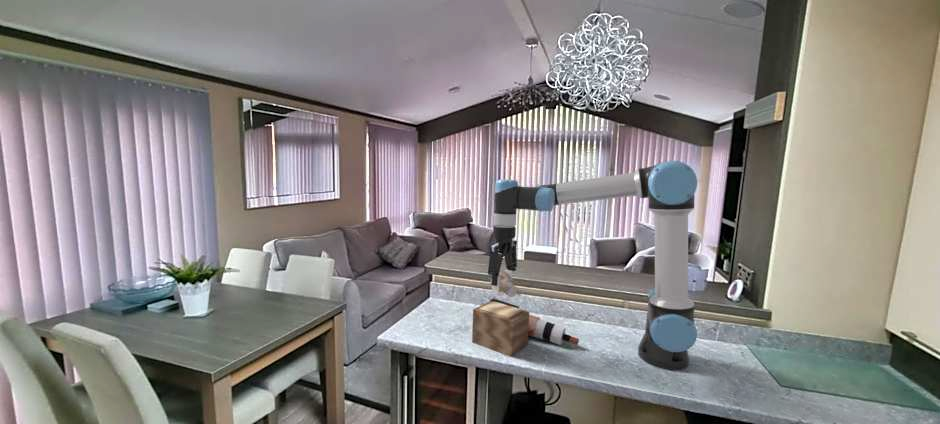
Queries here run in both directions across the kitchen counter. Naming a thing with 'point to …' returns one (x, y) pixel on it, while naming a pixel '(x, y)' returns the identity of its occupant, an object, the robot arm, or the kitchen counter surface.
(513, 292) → the mug
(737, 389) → the kitchen counter surface
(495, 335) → the plate
